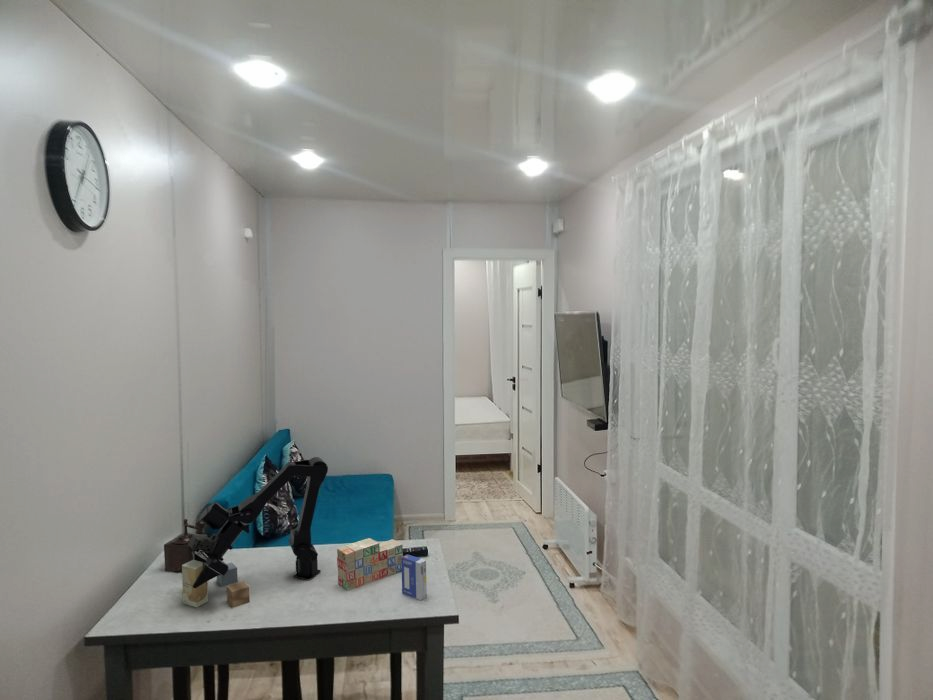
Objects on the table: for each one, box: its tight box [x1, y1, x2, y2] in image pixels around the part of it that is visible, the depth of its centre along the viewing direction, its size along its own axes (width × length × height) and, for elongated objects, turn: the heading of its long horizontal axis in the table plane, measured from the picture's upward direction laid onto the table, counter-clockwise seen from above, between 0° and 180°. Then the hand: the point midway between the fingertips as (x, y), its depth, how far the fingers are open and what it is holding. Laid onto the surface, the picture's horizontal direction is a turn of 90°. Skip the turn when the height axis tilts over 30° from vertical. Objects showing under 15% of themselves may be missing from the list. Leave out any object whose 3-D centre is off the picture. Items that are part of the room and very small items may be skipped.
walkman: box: [401, 553, 428, 601], centre depth 176 cm, size 8×3×12 cm, turn 54°
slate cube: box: [216, 561, 239, 588], centre depth 187 cm, size 5×5×5 cm
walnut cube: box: [226, 580, 250, 609], centre depth 174 cm, size 5×5×5 cm
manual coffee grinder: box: [163, 518, 209, 573], centre depth 198 cm, size 16×11×18 cm
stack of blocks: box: [336, 537, 404, 591], centre depth 188 cm, size 21×6×12 cm, turn 130°
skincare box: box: [181, 560, 209, 608], centre depth 173 cm, size 6×4×12 cm
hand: (190, 583), depth 172 cm, fingers closed on skincare box, 7 cm apart
